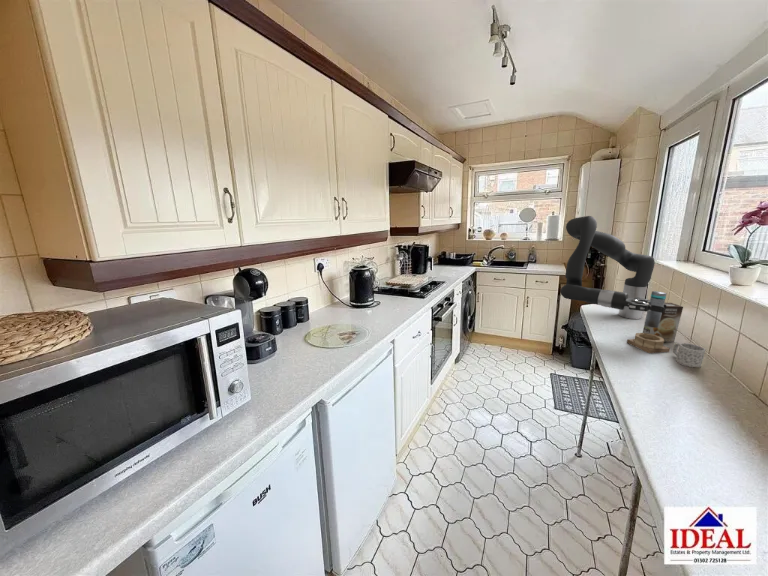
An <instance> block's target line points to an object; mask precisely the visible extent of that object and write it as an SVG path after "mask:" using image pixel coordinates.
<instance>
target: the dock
mask: <svg viewBox="0 0 768 576" xmlns="http://www.w3.org/2000/svg"><path fill="white" fill-rule="evenodd" d="M634 335H635V336H634V338H629V339H627V340H626V344H629V345H631V346H633V347H636V348H637V349H640V350H641V351H644V352H646V353H648V354H657V353H659V354H660V353H670V351H671V350H670V349H671V348H670V347H668V346H665V344H664V343H665V341H664V339H663V338H661V337H659V336H657V335H653V334H648V333H643V332H636V333H635V334H634Z"/></svg>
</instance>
